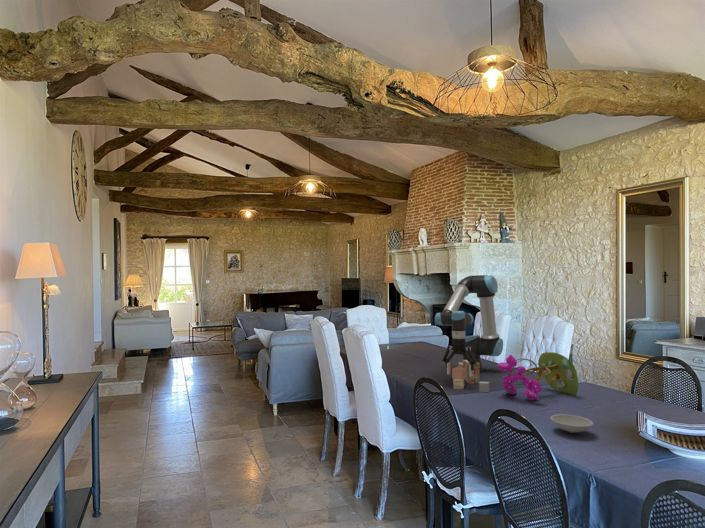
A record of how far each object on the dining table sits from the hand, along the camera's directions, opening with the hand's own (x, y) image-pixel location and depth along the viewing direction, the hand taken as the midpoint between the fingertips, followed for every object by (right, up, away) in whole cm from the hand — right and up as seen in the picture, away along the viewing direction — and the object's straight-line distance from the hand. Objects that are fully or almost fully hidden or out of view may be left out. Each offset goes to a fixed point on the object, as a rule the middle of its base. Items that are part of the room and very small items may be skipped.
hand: (459, 375), depth 290 cm
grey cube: (+11, -6, -13) cm, 18 cm away
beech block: (-1, -7, -1) cm, 7 cm away
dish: (+26, -4, -88) cm, 91 cm away
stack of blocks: (+9, -7, +18) cm, 22 cm away
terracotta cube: (0, -2, 0) cm, 2 cm away
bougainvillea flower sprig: (+35, -6, -26) cm, 44 cm away
